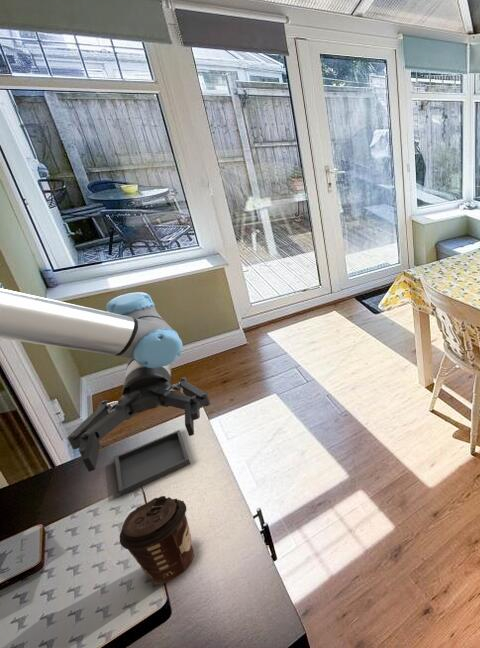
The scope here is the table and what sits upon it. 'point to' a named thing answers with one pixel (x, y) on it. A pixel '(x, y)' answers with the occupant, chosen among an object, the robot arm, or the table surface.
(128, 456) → the coaster pad
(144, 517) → the coffee cup
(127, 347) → the robot arm
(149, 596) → the table surface
